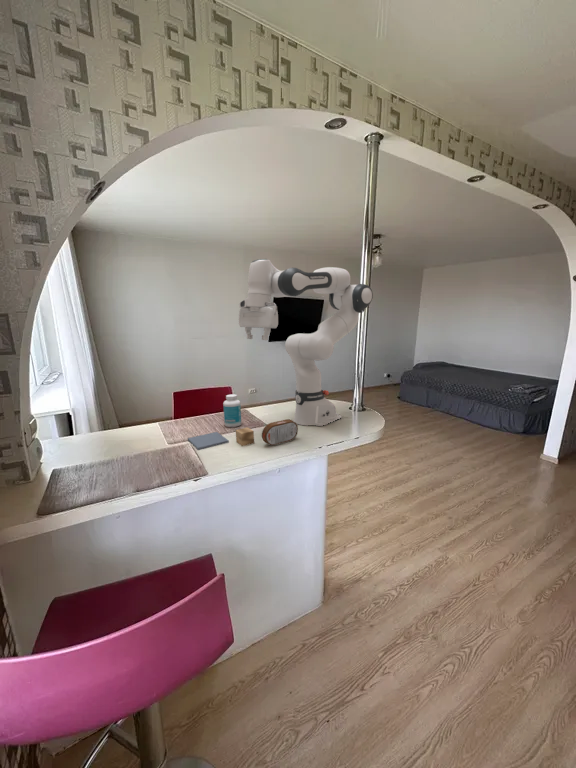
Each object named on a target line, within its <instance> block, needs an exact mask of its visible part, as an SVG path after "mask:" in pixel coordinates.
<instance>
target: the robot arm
mask: <svg viewBox="0 0 576 768" xmlns="http://www.w3.org/2000/svg"><path fill="white" fill-rule="evenodd" d="M247 276H248V277H247V279H248V280H247V284H248V291H247V295H246V296H247V297H245V298H244V299H243V300H241V301H239V304H238V306H239V308H240V309H239V310H238V325H239V327H240V328H245V329H244V331H245V334H246V339H247V340H252V339H253V336H254V335H253V334H252V328H257V329H258V328H259V329H261V328H262V329H263V331H264V332H263V335H262V334H261V340H262V341H268V340H269V335H270V333H271V329H277V327H278V325H279V314H278V313H279V312H278V306H277V304H276V303H275V302H273V301H272V302H271V297H273V298H284V297H298V296H300V295H302V294H303V293H304V292H305V291H307V290H313V292H314V293H315V294H320V295H321V294H322V295H328V301H329V306H331V308H332V309H334V310H337V311H336V313H333V314H332V315H330V316H329V317H328V318H326V319H325V320H323V321H322V322H320V323H319V324H318V327H317V330H316V331H314V332H311V333H295V334H291V335H289V336H288V337H287V339H286V341H285V343H284V344H285V345H284V347H285V348H284V349H285V351H286V353H287V354H288V355H289V357H290V359H291V361H292V364H293V368H294V373H295V382H296V383H295V385H296V388H295V412H294V417H293V419H292V421H294V422H295V423H296V424H297V425H301V426H308V425H316V426H315V427H323V425H324V426H326V425H328V423H329V424H331V423H333V421H334V422H336V421H335V420H337V419H339V420H341V419H342V415H341V414H339V413H337V408H336V405H335V404H334V403H332V401H330V400H329V399H327V398H326V397H325V396H328V395H329V394H330V393H329V390H327V389H326V390H324V389H322V372H321V371H320V369H319V368H318V366H317V365H316V362H317V361H326V360H328V359H330V358H331V356H332V355H333V353H334V348H335V347H334V345H335V344H336V343H338V342H339V341H340V340H342V339H343V338H344V337H345V336H347V335H349V333H351V331H353V330H354V329H355V327H356V326H357V325H358V323H359V316H358V315H359V314H362V313H364V312H365V310H366V309H367V308H368V307H369V306H370V304H371V303H372V301H373V298H374V293H373V290H372V287H371V286H369V285H368V284H364V283H358V284H351V274H350V272H349V271H348V270H347V269H344V268H343V267H342V268H341V267H335V266H334V267H332V266H327V267H321V268H317V269H315V270H314V271H313V272H306V271H303V270H301V269H299V268H298V267H289V268H286V269H284V270H280V269H278V268H277V267H275V265H274V264H273V263H272V261H271V260H270V259H267V258H260V259H255V260H252V261H251V262H250V264H249V268H248V274H247ZM315 361H316V362H315ZM337 415H338V416H337ZM340 418H341V419H340ZM337 421H338V420H337ZM330 422H331V423H330Z"/></svg>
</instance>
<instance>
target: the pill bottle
mask: <svg viewBox="0 0 576 768" xmlns="http://www.w3.org/2000/svg"><path fill="white" fill-rule="evenodd" d="M225 399H226V400H224V401H223V403H222V405H223V420H224V426H225V427H227V428H237V427H240V426H241V425H242V422H243V421H242V407H241V401H240V400H239V399H238V394H235V393H234V394H233V393H232V394H231V393H230V394H227V395H225Z"/></svg>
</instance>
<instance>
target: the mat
mask: <svg viewBox="0 0 576 768" xmlns="http://www.w3.org/2000/svg"><path fill="white" fill-rule="evenodd" d="M187 441H188V442H189V443H190V444H191V445H192V444H193V445H192V446H193V447H194V448H195V449H197V451H200V450H204V449H207V448H212V447H216V446H219V445H224V444H228V443H230V441H229V440H228V439H227V438H226V437H225V436H223V435H222V434H221V433H219V432H218V431H215V432H211V433H210V432H209V433H206V434H205V433H204V434H201V435H196V436H192V437H188V438H187Z"/></svg>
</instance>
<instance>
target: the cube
mask: <svg viewBox="0 0 576 768" xmlns="http://www.w3.org/2000/svg"><path fill="white" fill-rule="evenodd" d="M254 433H255V432H254V430H253V429H251V428H250V427H247V426H246V427H244V428H239V429H235V438H236V443H237V444H239V446H241V447H245V446H249V445H253V444H255V434H254Z"/></svg>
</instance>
